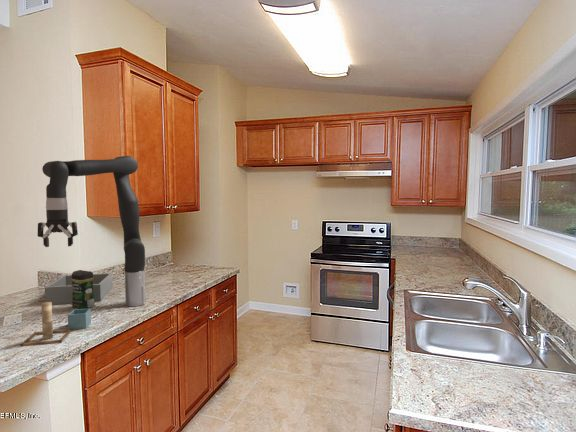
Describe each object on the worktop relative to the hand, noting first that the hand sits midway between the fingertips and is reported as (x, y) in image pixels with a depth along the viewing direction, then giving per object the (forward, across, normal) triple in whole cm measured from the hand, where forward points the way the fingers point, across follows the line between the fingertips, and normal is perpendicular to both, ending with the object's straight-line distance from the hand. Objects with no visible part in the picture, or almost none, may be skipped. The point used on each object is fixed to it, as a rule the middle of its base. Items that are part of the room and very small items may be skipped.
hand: (58, 246), depth 145 cm
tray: (+34, -1, +16) cm, 38 cm away
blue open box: (+34, -9, +6) cm, 36 cm away
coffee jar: (+34, -2, -22) cm, 41 cm away
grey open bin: (+34, +5, -43) cm, 55 cm away
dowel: (+34, -1, +16) cm, 37 cm away
